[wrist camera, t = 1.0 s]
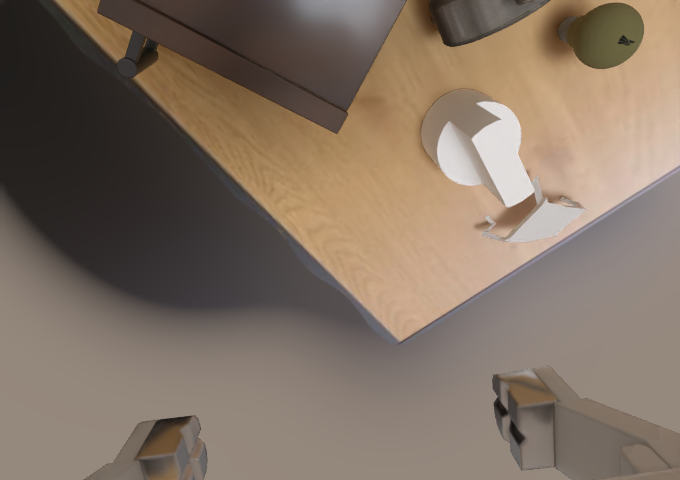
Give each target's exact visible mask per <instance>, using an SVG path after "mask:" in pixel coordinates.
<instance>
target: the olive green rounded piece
mask: <svg viewBox="0 0 680 480" xmlns="http://www.w3.org/2000/svg"><path fill="white" fill-rule="evenodd" d="M643 34H644V24H643V20H642V18H641V16H640V14H639V13H638V12H637V11H636V10H635V9H634V8H633V7H631V6H629V5H626V4H623V3H608V4H604V5H601V6H599V7H596V8H594V9H593V10H591V11H590V12H588V13H587V14H586V15H584V16H581V17H568V18H566V19H565V20H564V21H563V22H562V23H561V25H560V27H559V30H558V36H559V38H560V39H561V40H562V41H564V42H567V43H569V45H570V46H571V47H573V50H574V52H575V54H576V56H577V57H578V59H579V60H580V61H581V62H582V63H584V64H585V65H587V66H589V67H592V68H596V69H607V68H611V67H615V66H617V65H620V64H621V63H623V62H625V61H626V60H627V59H629V58H630V57H631V56H632V55H633V54H634V53H635V52H636V50H637V49H638V47H639V45H640V44H641V41H642V38H643Z"/></svg>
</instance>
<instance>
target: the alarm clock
mask: <svg viewBox="0 0 680 480" xmlns="http://www.w3.org/2000/svg"><path fill="white" fill-rule="evenodd" d="M549 1H550V0H430V2H429V9H430V12H431V14H432V18H431V22H432V23H433V24H434V23H435V24H436V26H437V28H438V31H439V33H440V35H441V38H442V40H443V43H444V44H445V45H447V46H449V47H455V46H461V45H464V44H468V43H472V42H475V41H477V40H480V39H482V38H484V37H487V36H489V35H491V34H493V33H496V32H498V31H501V30H502V29H505V28H507V27H509V26H511V25H512V24H514V23H516V22H518V21H520V20H521V19H523V18H525V17H527V16H528V15H530V14H531V13H533V12H535V11H536V10H538V9H539V8H541V7H542V6H544V5H545V4H546V3H548V2H549Z"/></svg>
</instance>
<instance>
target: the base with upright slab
mask: <svg viewBox="0 0 680 480" xmlns="http://www.w3.org/2000/svg"><path fill="white" fill-rule="evenodd" d="M421 139H422V144H423V147H424V149H425V151H426V153H427V154H428V155H429V156H430V157H431V159H432V160H433V161H434V162H435V163H436V164H437V166H438V167H439V168H440V169H441V170H442V171H443V172H444V174H445V175H446V176H447V177H448V178H450V179H451V180H453V181H454V182H456V183H459V184H462V185H480V184H483V185H484V186H485V187H486V188H487V189H488V190H490V191H491V192H492V193H493V194H494V195H495V196H496V197H497V198H498V199H499V200H500V201H501V202H502V203H503V204H504V205H505V206H506V207H507V208H508V207H511V206H514V205H516V204H518V203H520V202H522V201H523V200H525V199H526V198H527V197H529V196H530V195H531V194H533V192H534V191H535V190H534V188H533V185H532V183H531V181H530V179H529V177H528V175H527V173H526V170H525V168H524V166H523V164H522V162H521V160H520V158H519V155H518V150H519V147H520V143H521V128H520V124H519V121H518V119H517V117H516V116H515V114H514V113H513V112H512V111H511V110H510V109H509V108H507V107H506V106H505V105H503V104H501V103H499V102H498V101H496V100H494V99H492V98H490V97H488V96H487V95H485V94H483V93H481V92H478V91H476V90H473V89H459V90H455V91H451V92H449V93H447V94H445V95H443V96H442V97H440V98H439V99H438V100H437V101H436V102H435V103H433V105H432V106H431V107H430V109H429V110H428V112H427V113H426V116H425V118H424V120H423V123H422V129H421Z"/></svg>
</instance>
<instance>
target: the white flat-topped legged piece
mask: <svg viewBox="0 0 680 480" xmlns="http://www.w3.org/2000/svg"><path fill="white" fill-rule="evenodd" d="M531 183H532V185H533V188H534V190H535V191H534V194H535V198H536V201H537V206H536V207H535V208H534V209H533V210H532V211H531V212H530V213H529V214H528V215H527V216H526V217H525V218H524V219H523V220H522V221H521V222H520V223H519V224H518V225H517V226H516V227H515V228H514V229H513V230H512V231H511V232H510V233H509V234H508V236H507V237H506V238H503V237H500V236H497V235H494V234H491V233H488V232H489V231H490V229H491V228H492V227H493V226H494V225H495V224H496V223H495V222H494V221H493V220H492V219H491V218H490V217H489V216H486V217H485V219H486V220H487V221H488V222H489V223H490V224H491V226H490V227H488V228H487V229H486V230H485V231H483V232H482V233H481V234H482V236H484V237H488V238H491V239H495V240H499V241H504V242H530V241H535V240H539V239H543V238H547V237H551V236H554V237H555V236H556V235H557V234H558V233H559V232H560V231H561V230H563V229H564V228H565V227H566V226H567V225H569V224H570V223H571V222H572V221H573V220H574V219H576V218H577V217H578V216H579V215H580V214H582V213H583V212H585V211H586V209H585V208H584V207H583V206H582V205H581V204H580V203H579V202H575V201H571V200H568V199H564V196H563V197H561V198H560V199H559V200H561V201H563V202H565V203H568V204H570V205H573V206H562V205H557V204H553V203H549V202H548V201H547V197H543V196H542V191H541V186H540V181H539V178H538V176H536V177H535V179H534V180H533V181H532V182H531ZM574 206H575V207H574Z"/></svg>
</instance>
